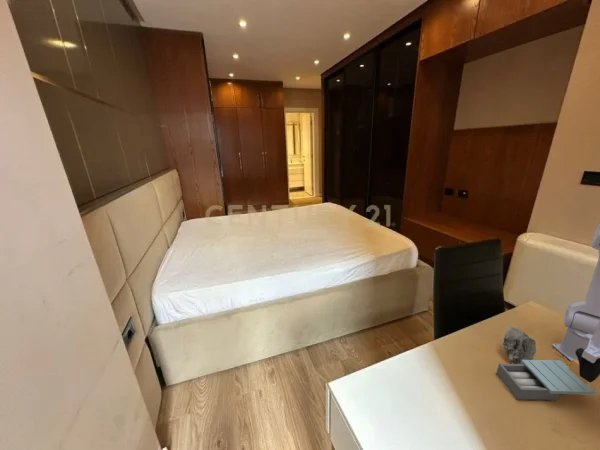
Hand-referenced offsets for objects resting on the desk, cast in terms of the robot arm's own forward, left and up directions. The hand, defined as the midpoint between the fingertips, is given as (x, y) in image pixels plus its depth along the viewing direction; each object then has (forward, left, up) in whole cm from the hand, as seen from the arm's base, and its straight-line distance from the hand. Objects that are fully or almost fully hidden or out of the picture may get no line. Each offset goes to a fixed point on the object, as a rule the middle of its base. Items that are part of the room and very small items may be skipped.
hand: (595, 374), depth 61 cm
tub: (+11, -5, -10) cm, 16 cm away
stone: (+5, -16, -11) cm, 20 cm away
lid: (+3, -4, -7) cm, 9 cm away
